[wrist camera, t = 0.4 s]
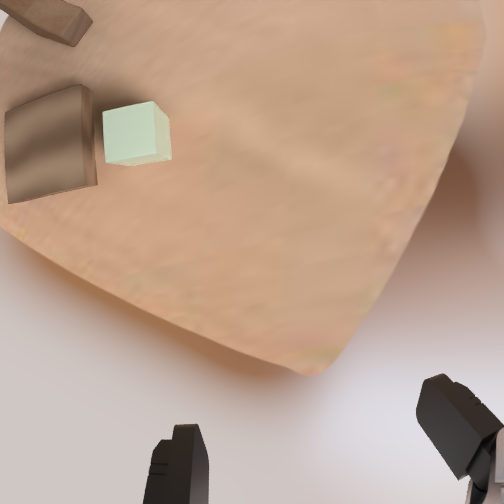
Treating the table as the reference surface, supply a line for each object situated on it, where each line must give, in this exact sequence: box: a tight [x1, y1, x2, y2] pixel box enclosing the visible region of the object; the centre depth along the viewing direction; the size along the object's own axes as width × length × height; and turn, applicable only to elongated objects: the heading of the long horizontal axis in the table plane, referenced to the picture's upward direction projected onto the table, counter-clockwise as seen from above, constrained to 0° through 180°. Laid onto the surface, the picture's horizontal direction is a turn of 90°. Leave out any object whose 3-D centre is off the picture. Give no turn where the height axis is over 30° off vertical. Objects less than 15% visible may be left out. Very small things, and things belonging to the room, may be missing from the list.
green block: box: [103, 101, 172, 166], centre depth 29 cm, size 5×5×8 cm
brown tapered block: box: [5, 84, 98, 204], centre depth 30 cm, size 12×12×4 cm
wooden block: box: [0, 0, 93, 47], centre depth 19 cm, size 9×4×18 cm, turn 58°
